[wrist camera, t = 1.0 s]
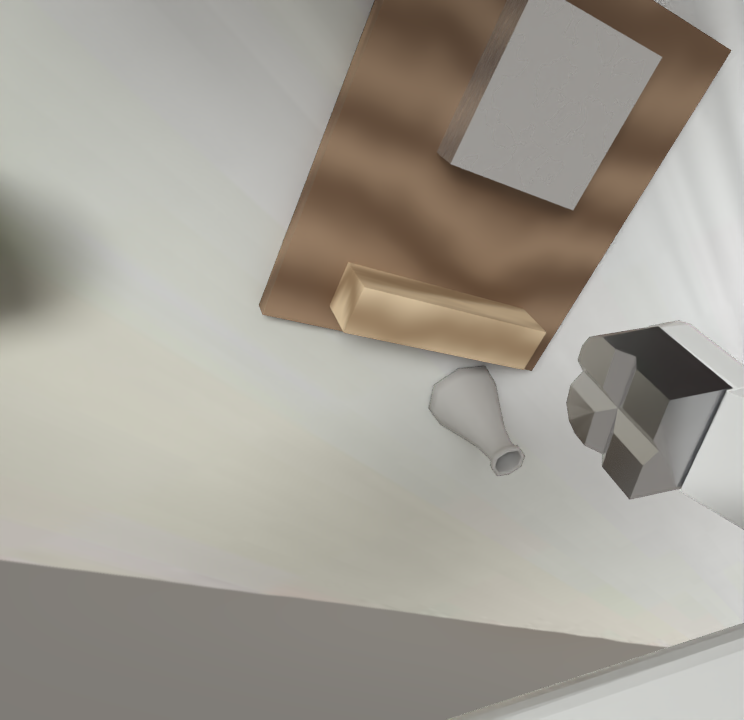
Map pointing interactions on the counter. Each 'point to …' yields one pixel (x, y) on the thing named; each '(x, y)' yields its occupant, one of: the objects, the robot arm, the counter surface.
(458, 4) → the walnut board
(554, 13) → the aluminium plate
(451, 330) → the bar
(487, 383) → the flask
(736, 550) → the counter surface
